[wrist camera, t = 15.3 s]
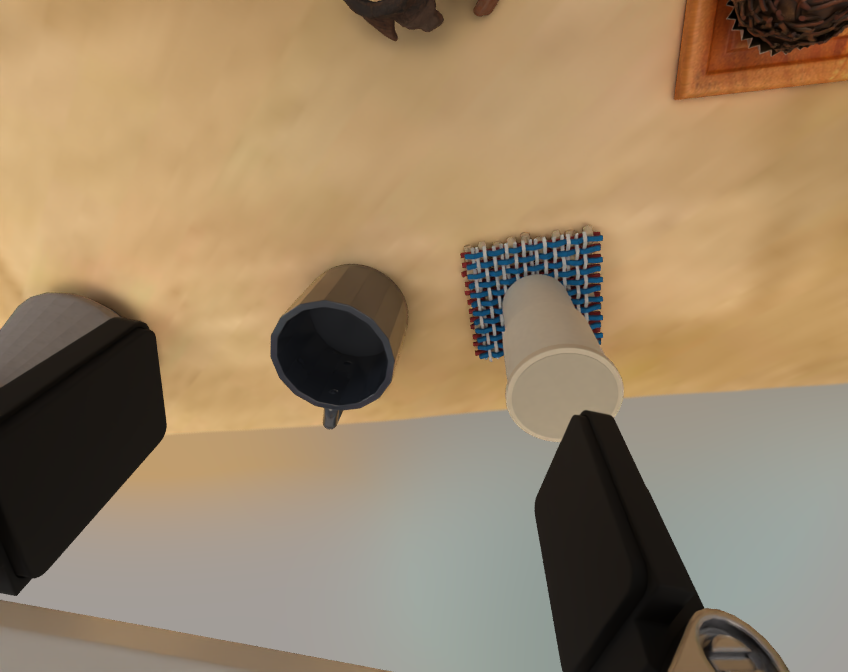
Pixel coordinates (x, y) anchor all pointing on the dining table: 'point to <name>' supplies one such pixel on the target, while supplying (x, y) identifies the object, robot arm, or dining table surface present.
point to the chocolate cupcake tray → (761, 45)
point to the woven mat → (485, 317)
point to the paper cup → (553, 360)
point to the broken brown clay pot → (407, 14)
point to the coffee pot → (45, 330)
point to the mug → (341, 339)
